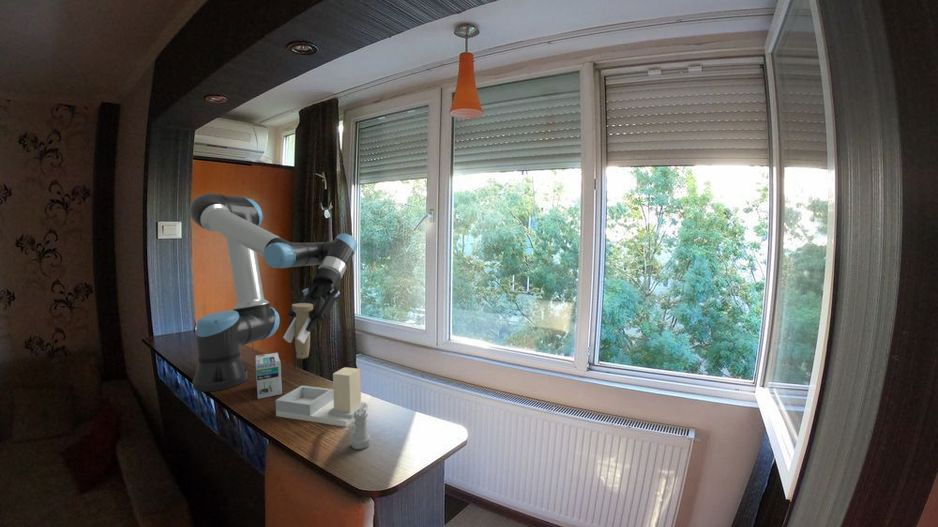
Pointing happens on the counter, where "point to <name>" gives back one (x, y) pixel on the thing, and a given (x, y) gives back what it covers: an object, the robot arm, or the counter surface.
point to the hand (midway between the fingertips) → (293, 340)
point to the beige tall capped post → (301, 317)
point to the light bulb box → (268, 375)
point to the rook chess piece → (360, 431)
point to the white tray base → (325, 400)
